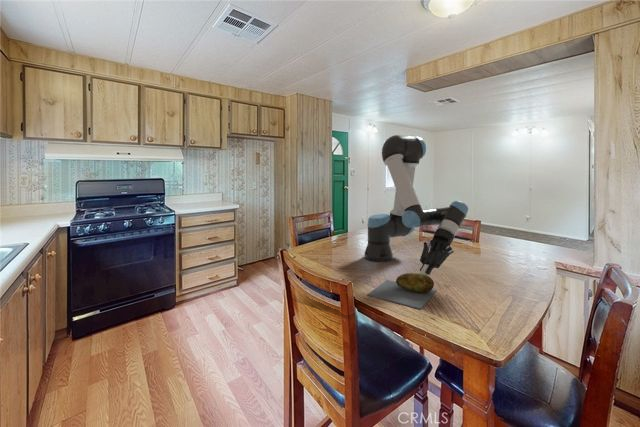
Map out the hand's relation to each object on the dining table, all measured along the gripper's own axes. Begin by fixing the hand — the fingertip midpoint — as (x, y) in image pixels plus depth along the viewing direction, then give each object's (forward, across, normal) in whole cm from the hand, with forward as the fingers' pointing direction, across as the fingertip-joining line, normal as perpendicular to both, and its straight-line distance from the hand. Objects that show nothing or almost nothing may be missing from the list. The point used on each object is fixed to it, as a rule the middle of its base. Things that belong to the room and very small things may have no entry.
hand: (420, 279), depth 114 cm
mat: (+10, 0, +5) cm, 11 cm away
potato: (+3, +2, +1) cm, 4 cm away
